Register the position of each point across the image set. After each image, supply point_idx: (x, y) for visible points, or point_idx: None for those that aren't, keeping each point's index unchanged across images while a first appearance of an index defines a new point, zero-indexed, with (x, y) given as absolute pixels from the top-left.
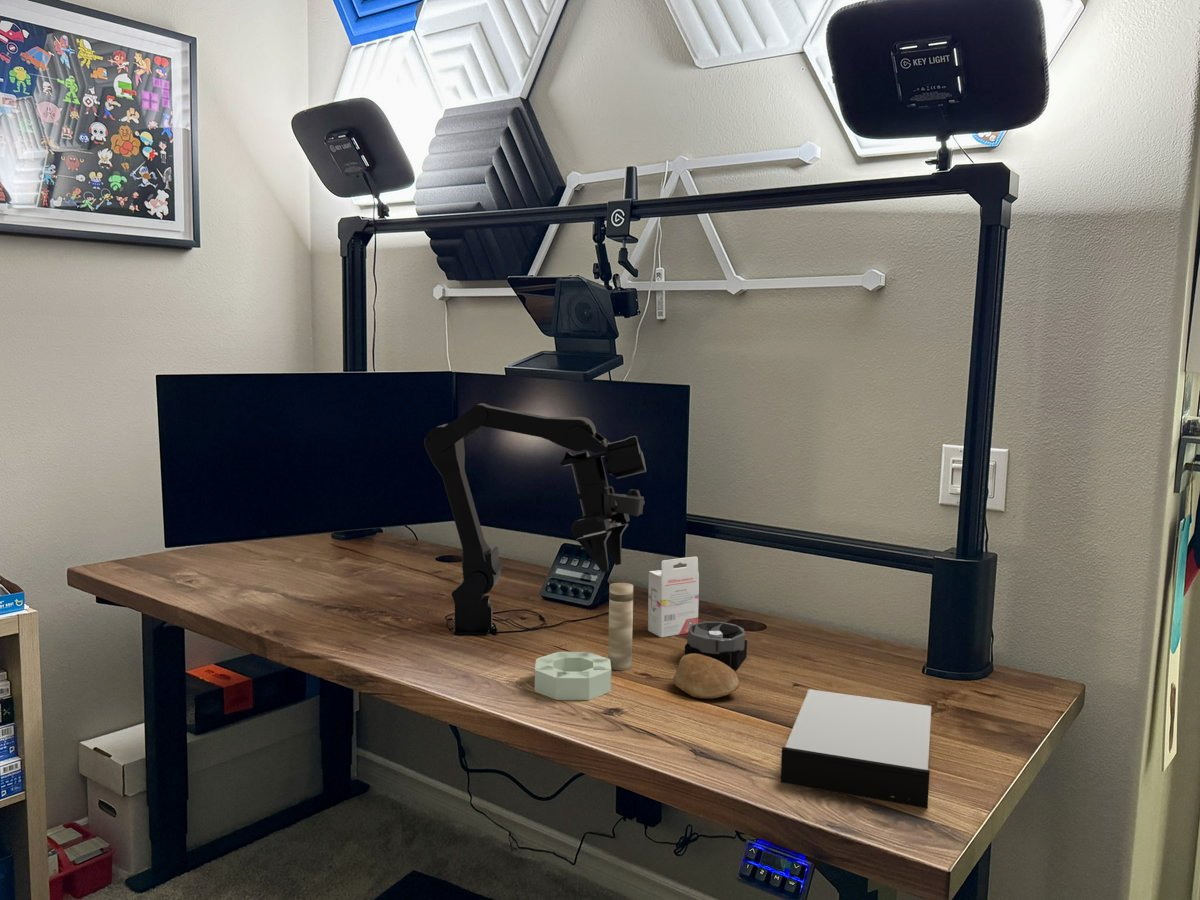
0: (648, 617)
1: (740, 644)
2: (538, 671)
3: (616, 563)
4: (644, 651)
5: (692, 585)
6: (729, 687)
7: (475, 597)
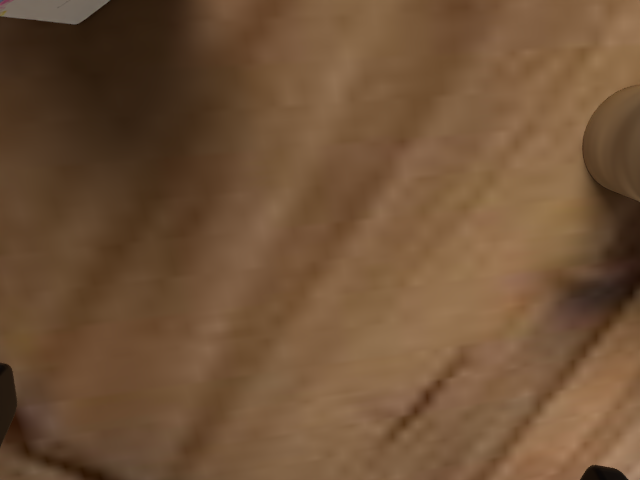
0: (52, 19)
1: None
2: None
3: (5, 411)
4: (426, 30)
5: None
6: None
7: None
